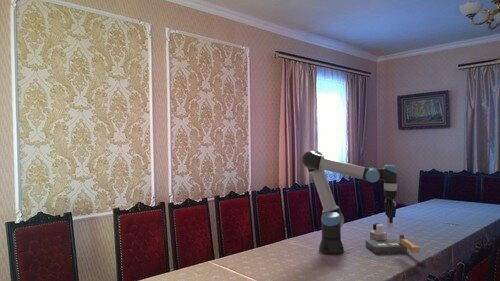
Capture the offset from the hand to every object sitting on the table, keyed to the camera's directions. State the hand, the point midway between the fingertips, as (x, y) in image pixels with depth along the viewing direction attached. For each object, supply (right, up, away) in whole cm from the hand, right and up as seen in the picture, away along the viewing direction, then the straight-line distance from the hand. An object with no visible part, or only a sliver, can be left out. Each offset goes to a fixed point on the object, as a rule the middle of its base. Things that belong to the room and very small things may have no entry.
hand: (390, 227), depth 214 cm
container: (-1, -15, +16) cm, 22 cm away
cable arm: (+7, -10, -9) cm, 15 cm away
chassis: (-2, -14, +3) cm, 15 cm away
